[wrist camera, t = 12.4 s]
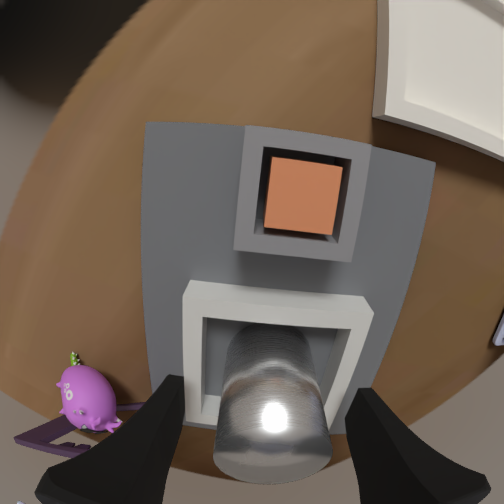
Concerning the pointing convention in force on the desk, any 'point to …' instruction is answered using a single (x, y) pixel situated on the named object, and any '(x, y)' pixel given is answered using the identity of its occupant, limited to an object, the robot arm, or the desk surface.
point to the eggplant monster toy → (78, 411)
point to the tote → (443, 69)
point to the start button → (301, 195)
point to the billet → (271, 408)
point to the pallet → (272, 257)
